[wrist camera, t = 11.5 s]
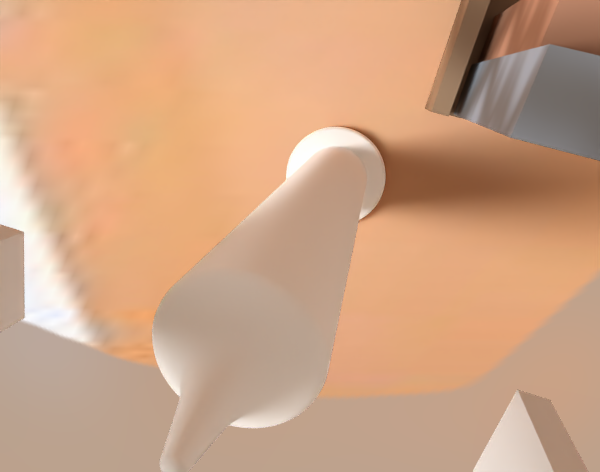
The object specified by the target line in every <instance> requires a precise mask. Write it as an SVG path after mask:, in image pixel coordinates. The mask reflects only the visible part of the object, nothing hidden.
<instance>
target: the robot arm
mask: <svg viewBox="0 0 600 472" xmlns="http://www.w3.org/2000/svg"><path fill="white" fill-rule="evenodd" d="M23 318H25V313H24V232H22V231H19V230H16V229H13V228H10V227H7V226H4V225H1V224H0V333H1V332H2V331H4V330H5V329H7V328H9V327H10V326H12V325H14V324H15V323H17V322H18V321H20V320H22V319H23ZM473 472H588V470H587V468H586V466H585V464H584V463H583V460H582V459H581V457H580V455H579V453H578V451H577V449H576V447H575V445H574V444H573V442H572V440H571V438H570V436H569V434H568V432H567V430H566V429H565V427H564V425H563V423H562V421H561V419H560V417H559V415H558V414H557V412H556V410H555V408H554V406H553V404H552V402H551V400H549V399H545V398H542V397H539V396H536V395H533V394H530V393H527V392H524V391H520V390H517V391H516V393H515V395H514V397H513V399H512V400H511V402H510V404H509V406H508V408H507V409H506V411H505V413H504V415H503V417H502V419H501V420H500V422H499V424H498V426H497V428H496V430H495V431H494V433H493V435H492V437H491V439H490V441H489V442H488V444H487V446H486V448H485V450H484V452H483V453H482V455H481V457H480V459H479V461H478V462H477V464H476V466H475V468H474V470H473Z"/></svg>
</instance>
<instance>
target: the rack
mask: <svg viewBox="0 0 600 472" xmlns="http://www.w3.org/2000/svg"><path fill="white" fill-rule="evenodd" d="M425 109H427V110H429V111H431V112H434V113H438V114H442V115H446V116H449V115H451V116H455V117H459V118H463V119H466V120H469V121H471V122H473V123H476V124H478V125H481V126H483V127H486V128H488V129H491V130H493V131H496V132H498V133H500V134H503V135H505V136H508V137H510V138H514V139H518V140H522V141H526V142H530V143H533V144H537V145H541V146H545V147H549V148H553V149H556V150H560V151H564V152H568V153H572V154H576V155H580V156H583V157H587V158H591V159H595V160H599V161H600V0H462V1H461V4H460V7H459V10H458V13H457V15H456V18H455V21H454V24H453V27H452V30H451V33H450V36H449V39H448V42H447V45H446V48H445V51H444V54H443V57H442V60H441V63H440V66H439V69H438V72H437V75H436V78H435V81H434V84H433V87H432V90H431V93H430V96H429V98H428V101H427V104H426V107H425Z"/></svg>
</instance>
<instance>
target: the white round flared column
mask: <svg viewBox="0 0 600 472" xmlns="http://www.w3.org/2000/svg"><path fill="white" fill-rule="evenodd" d="M286 179H287V180H286V181H285V182H284V183H283V184H281V185H280V186H279V187H278V188H277V189H276V190H275V191H274V192H273V193H272V194H271V195H270V196H269V197H268V198H267V199H265V200H264V201H263V202H262V203H261V204H260V205H259V206H258V207H257V208H256V209H255V210H254V211H253V212H252V213H250V214H249V215H248V216H247V217H246V218H245V219H244V220H243V221H242V222H241V223H240V224H239V225H238V226H237V227H235V228H234V229H233V230H232V231H231V232H230V233H229V234H228V235H227V236H226V237H225V238H224V239H223V240H222V241H221V242H219V243H218V244H217V245H216V246H215V247H214V248H213V249H212V250H211V251H210V252H209V253H208V254H207V255H206V256H204V257H203V258H202V259H201V260H200V261H199V262H198V263H197V264H196V265H195V266H194V267H193V268H192V269H191V270H190V271H188V272H187V273H186V274H185V275H184V276H183V277H182V278H181V279H180V280H179V281H178V282H177V283H176V284H175V285H173V286H172V287H171V288H170V290H169V291H168V292H167V293H166V295H165V296H164V298H163V299H162V301H161V303H160V305H159V307H158V309H157V311H156V314H155V317H154V321H153V328H152V341H153V348H154V353H155V357H156V361H157V364H158V366H159V368H160V371H161V372H162V374H163V376H164V378H165V379H166V381H167V383H168V384H169V385H170V387H171V388H172V389H173V390H174V392H176V394H177V395H178V396H179V397H180V400H179V403H178V407H177V410H176V413H175V416H174V419H173V422H172V425H171V428H170V431H169V434H168V437H167V440H166V443H165V447H164V450H163V453H162V456H161V459H160V469H161V471H162V472H189V471H190V470H191V468H192V467H193V466H194V465H195V464H196V462H197V461H198V460H199V459H200V458H201V457H202V455H203V454H204V453H205V452H206V451H207V450H208V448H209V447H210V446H211V444H213V442H214V441H215V440H216V439H217V438H218V437H219V435H220V434H221V433H222V432H223V431H224V430H225V428H226V427H227V426H228V425H231V426H236V427H243V428H264V427H270V426H274V425H278V424H281V423H283V422H286V421H289V420H291V419H293V418H295V417H296V416H298V415H300V414H301V413H302V412H304V411H305V410H306V409H307V408H308V407H309V406H310V405H311V404H312V403H313V402H314V401H315V399H316V398H317V396H318V395H319V393H320V391H321V390H322V388H323V386H324V383H325V381H326V378H327V375H328V370H329V365H330V360H331V355H332V350H333V345H334V340H335V335H336V330H337V325H338V320H339V316H340V311H341V306H342V301H343V296H344V291H345V286H346V281H347V276H348V271H349V266H350V261H351V256H352V252H353V247H354V242H355V237H356V232H357V227H358V222H359V220H360V219H362V218H363V217H365V216H366V215H368V214H369V213H370V212H371V211H372V210H373V209H374V208H375V206H376V205H377V204H378V202H379V200H380V198H381V196H382V194H383V191H384V187H385V180H386V173H385V166H384V162H383V159H382V156H381V154H380V152H379V150H378V149H377V147H376V146H375V145H374V144H373V142H372V141H371V140H369V139H368V138H367V137H366V136H365V135H363V134H361V133H360V132H358V131H356V130H353V129H350V128H346V127H326V128H322V129H319V130H317V131H315V132H313V133H311V134H309V135H308V136H306V137H305V138H304V139H303V140H302V141H300V142H299V144H298V145H297V146H296V147H295V149H294V150H293V152H292V154H291V156H290V158H289V162H288V165H287V172H286Z"/></svg>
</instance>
